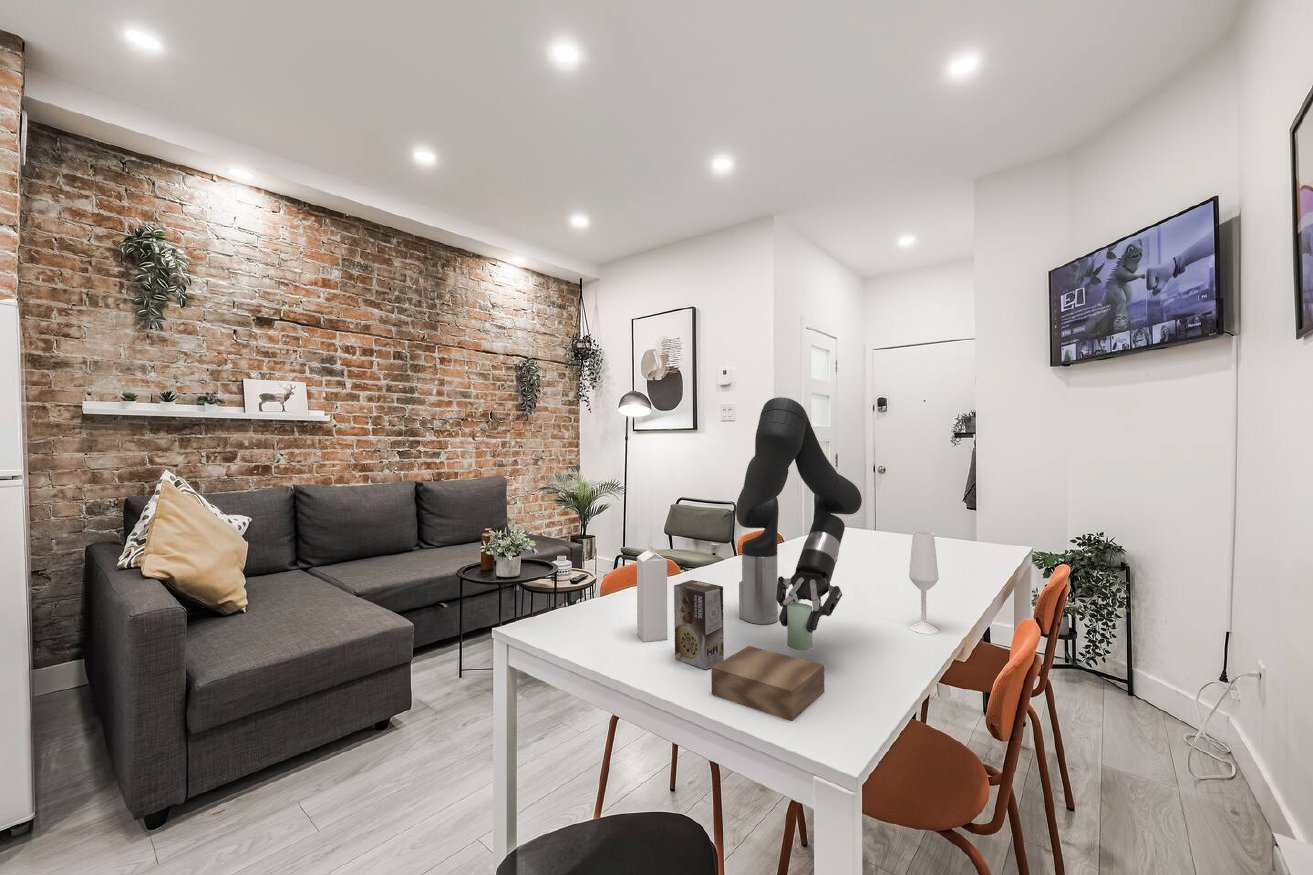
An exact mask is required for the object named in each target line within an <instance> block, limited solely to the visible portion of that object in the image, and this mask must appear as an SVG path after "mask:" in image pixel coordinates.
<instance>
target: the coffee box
mask: <svg viewBox="0 0 1313 875" xmlns="http://www.w3.org/2000/svg"><path fill="white" fill-rule="evenodd" d="M673 608H674V610H673V611H674V612H673V613H674V614H673V615H674V621H673V622H674V660H677V661H680V662H683V663H686V664H688V665H692V666H695V667H698V668H701V669H703V670H709V669H712V667H713V666H715V665H716V664H718V663H720V662H722V661H723V660H725V658H724V656H725V655H724V653H725V652H724V586H723V585H722V586H721V585H717V584H713V583H709V582H704V581H699V580H693V579H691V580H687V581H684V582H681V583H678V584H674V585H673Z"/></svg>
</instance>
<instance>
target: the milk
mask: <svg viewBox="0 0 1313 875" xmlns="http://www.w3.org/2000/svg"><path fill="white" fill-rule="evenodd" d="M647 547H648V548H647V550H645V551H644V552H642V553H641V554H639V555H638V556H636V625H637V626H636V634H637V636H638V637H639V638H640V640H642V642H643V643H650V642H658V641H666V640H668V559H666V558H665V557H663V556H662V555H659V554H658V553H657V552H656V547H655V546H654V545H652V544H650V543H648V546H647Z"/></svg>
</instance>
